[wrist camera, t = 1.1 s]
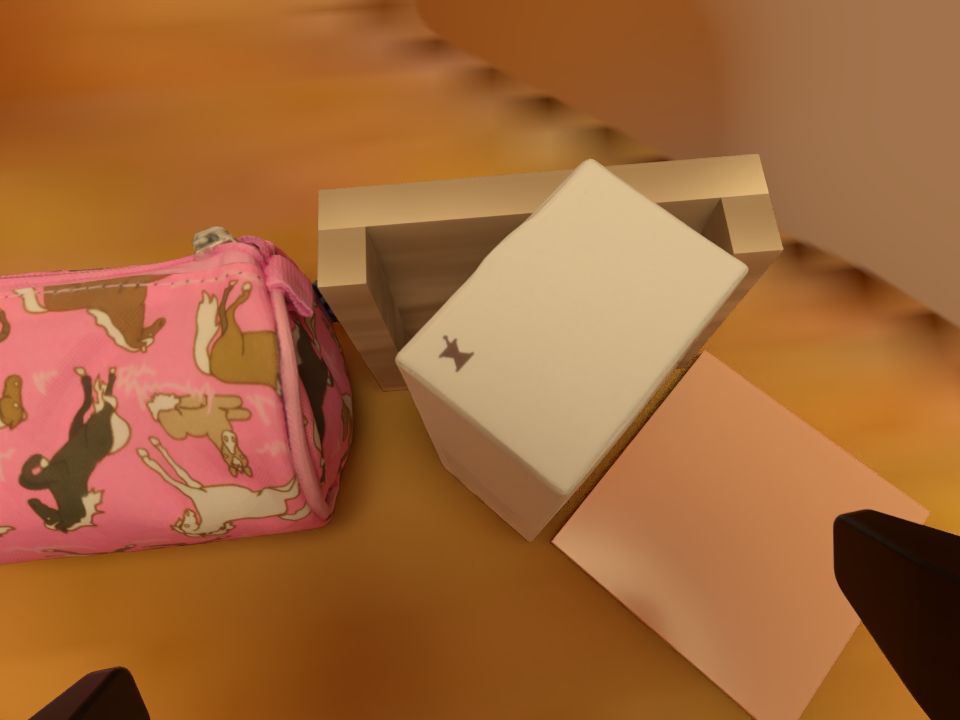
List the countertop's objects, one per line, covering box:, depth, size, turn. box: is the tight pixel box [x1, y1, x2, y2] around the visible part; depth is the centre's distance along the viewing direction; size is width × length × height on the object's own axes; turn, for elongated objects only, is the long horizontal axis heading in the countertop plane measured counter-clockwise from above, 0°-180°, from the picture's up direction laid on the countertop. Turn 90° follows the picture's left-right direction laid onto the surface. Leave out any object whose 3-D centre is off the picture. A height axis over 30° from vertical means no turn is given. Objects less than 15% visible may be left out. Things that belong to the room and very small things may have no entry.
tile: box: [551, 350, 930, 720], centre depth 22 cm, size 9×9×1 cm
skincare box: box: [395, 159, 749, 542], centre depth 18 cm, size 6×4×12 cm
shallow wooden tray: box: [318, 154, 783, 391], centre depth 20 cm, size 3×11×9 cm, turn 94°
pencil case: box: [0, 226, 354, 565], centre depth 20 cm, size 21×9×9 cm, turn 96°
